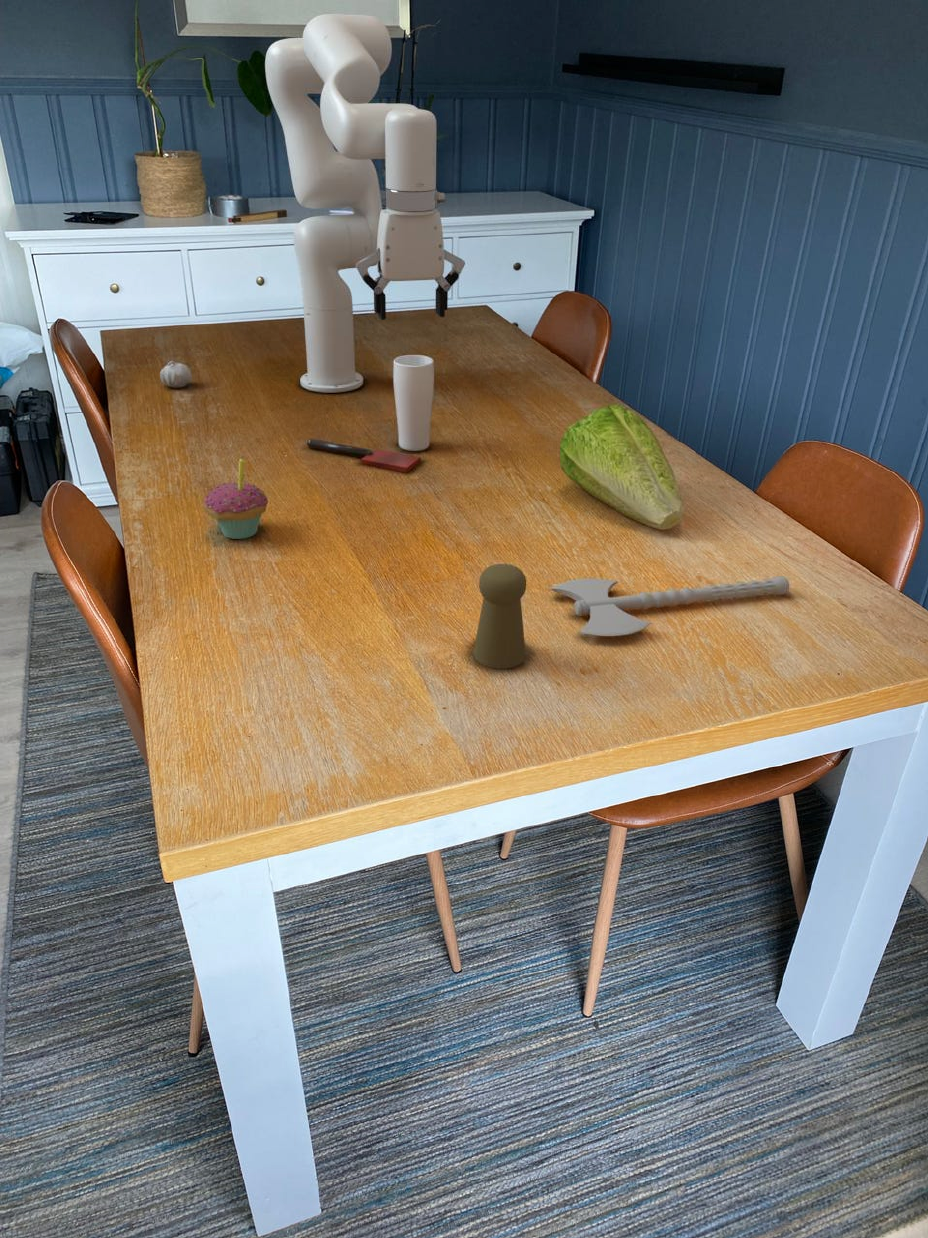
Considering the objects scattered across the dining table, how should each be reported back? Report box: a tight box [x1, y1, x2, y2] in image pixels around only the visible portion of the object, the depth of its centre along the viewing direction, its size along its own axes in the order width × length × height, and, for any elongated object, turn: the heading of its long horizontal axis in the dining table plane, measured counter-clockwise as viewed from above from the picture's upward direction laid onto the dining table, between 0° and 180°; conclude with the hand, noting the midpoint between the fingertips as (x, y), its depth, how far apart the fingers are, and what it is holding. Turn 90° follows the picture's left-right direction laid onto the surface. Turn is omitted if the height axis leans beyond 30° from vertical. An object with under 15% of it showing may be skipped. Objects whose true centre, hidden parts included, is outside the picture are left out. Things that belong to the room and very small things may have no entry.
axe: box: [549, 575, 790, 637], centre depth 119 cm, size 30×14×2 cm, turn 104°
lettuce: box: [559, 403, 684, 531], centre depth 142 cm, size 14×23×14 cm
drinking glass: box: [392, 354, 435, 452], centre depth 161 cm, size 7×7×15 cm
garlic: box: [159, 360, 192, 389], centre depth 188 cm, size 6×5×5 cm
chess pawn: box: [472, 563, 527, 670], centre depth 107 cm, size 6×6×11 cm
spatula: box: [306, 438, 422, 474], centre depth 160 cm, size 20×5×2 cm, turn 66°
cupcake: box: [203, 454, 269, 540], centre depth 132 cm, size 9×8×12 cm
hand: (411, 316), depth 154 cm, fingers open, 9 cm apart
